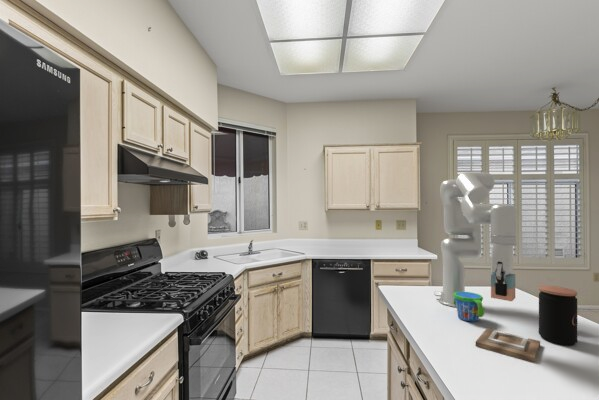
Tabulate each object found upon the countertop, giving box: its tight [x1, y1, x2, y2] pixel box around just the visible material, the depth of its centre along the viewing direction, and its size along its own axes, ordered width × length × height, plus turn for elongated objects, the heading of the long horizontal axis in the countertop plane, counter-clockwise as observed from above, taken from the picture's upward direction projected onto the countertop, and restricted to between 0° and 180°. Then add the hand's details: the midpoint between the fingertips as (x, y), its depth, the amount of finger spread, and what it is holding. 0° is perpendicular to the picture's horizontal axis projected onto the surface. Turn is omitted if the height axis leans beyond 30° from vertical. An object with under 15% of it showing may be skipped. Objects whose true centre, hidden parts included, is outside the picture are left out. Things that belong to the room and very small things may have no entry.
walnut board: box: [475, 327, 541, 363], centre depth 106 cm, size 16×16×2 cm
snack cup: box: [454, 291, 485, 322], centre depth 131 cm, size 16×10×10 cm
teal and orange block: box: [490, 273, 516, 302], centre depth 107 cm, size 6×6×8 cm
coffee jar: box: [538, 285, 578, 347], centre depth 112 cm, size 11×11×18 cm
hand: (503, 292), depth 107 cm, fingers closed on teal and orange block, 6 cm apart
